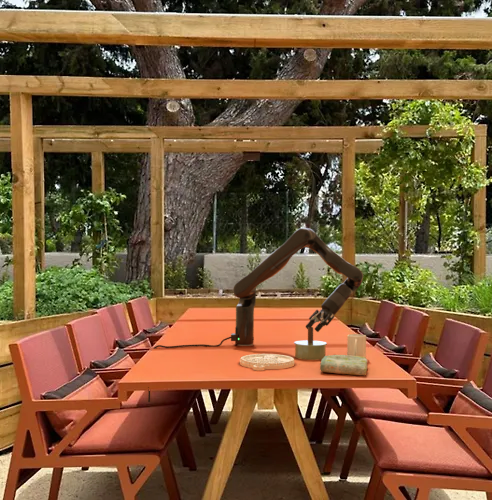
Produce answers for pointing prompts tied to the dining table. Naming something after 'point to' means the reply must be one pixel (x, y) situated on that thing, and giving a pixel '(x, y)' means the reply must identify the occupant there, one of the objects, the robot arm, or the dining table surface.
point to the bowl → (310, 352)
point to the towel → (344, 364)
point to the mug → (356, 345)
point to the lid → (310, 340)
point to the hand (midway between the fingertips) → (311, 329)
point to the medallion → (266, 361)
